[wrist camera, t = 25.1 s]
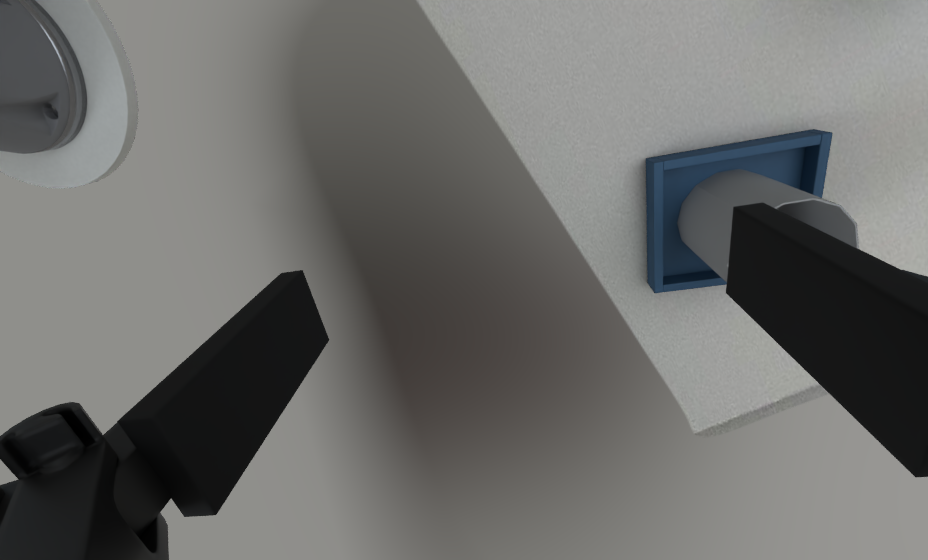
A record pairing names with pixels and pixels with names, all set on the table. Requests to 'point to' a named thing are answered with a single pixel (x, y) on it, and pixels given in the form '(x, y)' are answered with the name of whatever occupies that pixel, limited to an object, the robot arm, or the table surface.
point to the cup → (715, 197)
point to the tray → (678, 173)
